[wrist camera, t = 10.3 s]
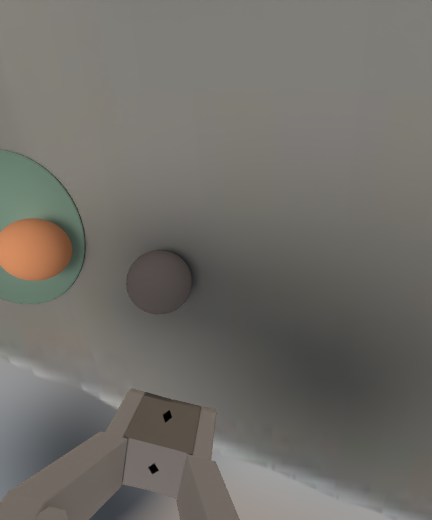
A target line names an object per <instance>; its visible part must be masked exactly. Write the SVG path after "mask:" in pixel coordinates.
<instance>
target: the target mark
mask: <svg viewBox="0 0 432 520" xmlns="http://www.w3.org/2000/svg"><path fill="white" fill-rule="evenodd" d="M28 218H36V219H43V220H47V221H50V222H52V223H54V224H56V225H57V226H59V227H60V228H62V229H63V230H64V232H65V233H66V234H67V235H68V237H69V239H70V241H71V244H72V256H71V259H70V262H69V263H68V265H67V266H66V268H65V269H64V270H63V271H62V272H60V273H59V274H57V275H56V276H54V277H51V278H49V279H45V280H39V281H30V280H24V279H20V278H17V277H15V276H13V275H11V274H9V273H8V272H6V271H5V270H4V269H3V268H2V267H1V265H0V298H2V299H4V300H7V301H10V302H14V303H20V304H39V303H43V302H47V301H50V300H52V299H55V298H56V297H58V296H60V295H61V294H63V293H64V292H65V291H67V290H68V289H69V288H70V287H71V285H72V284H73V283H74V282H75V280H76V279H77V277H78V275H79V273H80V271H81V268H82V265H83V261H84V255H85V236H84V229H83V225H82V221H81V218H80V215H79V213H78V210H77V208H76V206H75V204H74V202H73V200H72V198H71V197H70V195H69V194H68V192H67V191H66V189H65V188H64V187H63V186H62V184H61V183H60V182H59V181H58V180H57V179H56V178H55V177H54V176H53V175H52V174H51V173H50V172H49V171H48V170H46V169H45V168H44V167H42V166H41V165H40V164H38V163H36V162H35V161H33V160H31V159H30V158H27V157H25V156H23V155H20V154H17V153H14V152H10V151H4V150H0V232H1V231H2V230H3V229H4V228H5V227H6V226H8V225H9V224H11V223H13V222H15V221H18V220H22V219H28Z"/></svg>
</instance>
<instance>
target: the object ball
mask: <svg viewBox="0 0 432 520" xmlns="http://www.w3.org/2000/svg"><path fill="white" fill-rule="evenodd" d="M71 256H72V244H71V241H70V239H69V237H68V235H67V234H66V233H65V232H64V230H63V229H62V228H60V227H59V226H57V225H56V224H54V223H52V222H50V221H47V220H43V219H36V218H28V219H22V220H18V221H15V222H13V223H11V224H9V225H8V226H6V227H5V228H4V229H3V230H2V231H1V232H0V265H1V267H2V268H3V269H4V270H5V271H6V272H8V273H9V274H11V275H13V276H15V277H17V278H20V279H24V280H30V281H39V280H45V279H49V278H51V277H54V276H56V275H57V274H59V273H60V272H62V271H63V270H64V269H65V268H66V266H67V265H68V263H69V262H70V259H71Z"/></svg>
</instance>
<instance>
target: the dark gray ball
mask: <svg viewBox="0 0 432 520" xmlns="http://www.w3.org/2000/svg"><path fill="white" fill-rule="evenodd" d="M126 285H127V291H128V294H129V296H130V298H131V300H132V301H133V303H134V304H135V305H136V306H137V307H139V308H140V309H141V310H143V311H145V312H148V313H152V314H166V313H169V312H172V311H174V310H176V309H177V308H179V307H180V306H181V305H182V304H183V303H184V302H185V301H186V299H187V298H188V296H189V294H190V291H191V286H192V277H191V273H190V270H189V268H188V266H187V264H186V263H185V262H184V260H182V259H181V258H180V257H179V256H177V255H176V254H174V253H172V252H168V251H163V250H156V251H151V252H148V253H146V254H144V255H142V256H140V257H139V258H138V259H137V260H136V261H135V262H134V263H133V264H132V266H131V267H130V269H129V272H128V275H127V282H126Z"/></svg>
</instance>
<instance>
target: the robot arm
mask: <svg viewBox="0 0 432 520" xmlns="http://www.w3.org/2000/svg"><path fill="white" fill-rule="evenodd" d="M215 421H216V410H214V409H210V408H206V407H201V406H199V405H194V404H190V403H186V402H182V401H178V400H172V399H168V398H165V397H161V396H158V395H154V394H151V393H147V392H143V391H139V390H136V389H131V390H130V391H129V392H128V393H127V395H126V397H125V399H124V400H123V402H122V404H121V406H120V407H119V409H118V411H117V413H116V414H115V416H114V418H113V419H112V421H111V423H110V425H109V426H108V428H107V430H106V432H99V433H97V434H96V435H94V436H93V437H91V438H90V439H88V440H87V441H85V442H84V443H82V444H81V445H79V446H78V447H76V448H74V449H73V450H72V451H70V452H68V453H67V454H66V455H64V456H62V457H61V458H59V459H58V460H56V461H55V462H53V463H52V464H50V465H49V466H47V467H46V468H44V469H43V470H41V471H39V472H38V473H36V474H35V475H34V476H32V477H30V478H29V479H27V480H26V481H24V482H23V483H21V484H20V485H18V486H17V487H15V488H14V489H12V490H11V491H9V492H8V493H7V494H6V496H5V497H4V498H3V500H2V501H1V502H0V520H89V519H90V518H91V517H92V516H93V515H94V514H95V513H96V512H97V510H99V508H100V507H101V506H102V505H103V504H104V503H105V502H106V501H107V500H108V499H109V498H110V497H111V496H112V495H113V494H114V493H115V492H116V491H117V490H118V489H119V488H120V487H121V484H124V485H129V486H133V487H137V488H142V489H146V490H150V491H153V492H156V493H160V494H163V495H166V496H169V497H173V498H176V499H177V506H178V511H179V516H180V520H240V519H239V517H238V515H237V512H236V510H235V507H234V505H233V503H232V500H231V498H230V495H229V493H228V490H227V488H226V486H225V483H224V481H223V478H222V476H221V474H220V471H219V469H218V466H217V464H216V462H215V461H211V455H212V447H213V438H214V429H215Z"/></svg>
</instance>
